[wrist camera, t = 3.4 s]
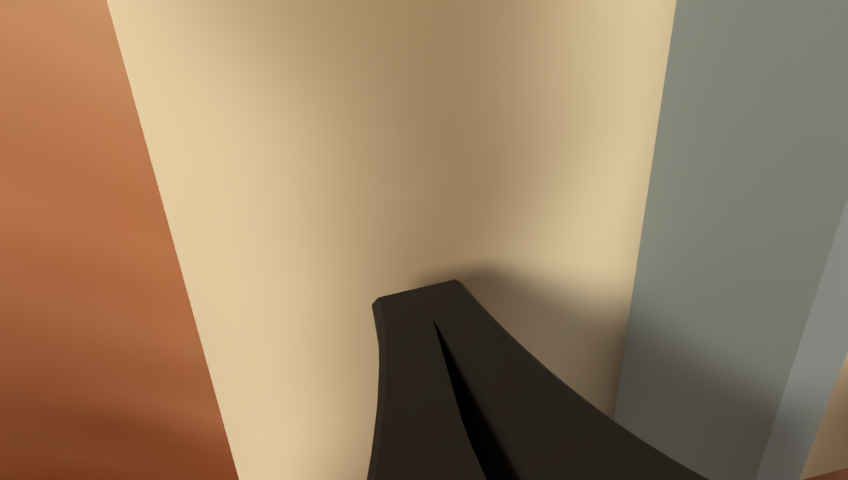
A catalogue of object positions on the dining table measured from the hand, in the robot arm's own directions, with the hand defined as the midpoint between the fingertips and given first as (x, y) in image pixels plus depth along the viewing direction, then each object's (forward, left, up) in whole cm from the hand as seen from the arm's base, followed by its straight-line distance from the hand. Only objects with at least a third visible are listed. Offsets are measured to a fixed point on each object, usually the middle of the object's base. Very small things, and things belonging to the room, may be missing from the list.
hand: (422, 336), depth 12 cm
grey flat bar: (+5, +1, -1) cm, 5 cm away
